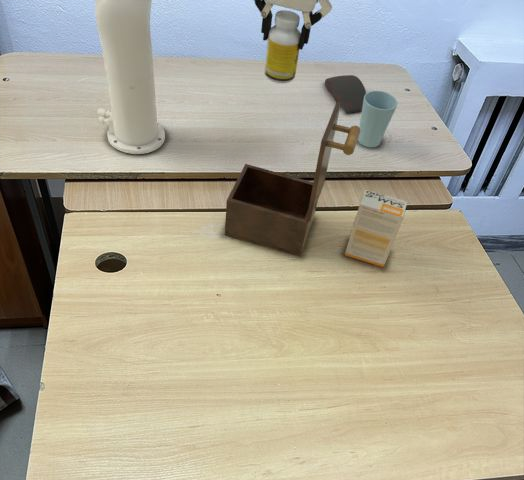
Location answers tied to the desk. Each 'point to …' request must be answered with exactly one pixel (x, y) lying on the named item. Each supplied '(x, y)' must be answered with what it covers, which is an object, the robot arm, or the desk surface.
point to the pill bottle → (283, 48)
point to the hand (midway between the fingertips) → (284, 41)
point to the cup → (375, 117)
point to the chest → (269, 210)
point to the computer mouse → (347, 92)
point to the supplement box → (375, 228)
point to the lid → (325, 154)
